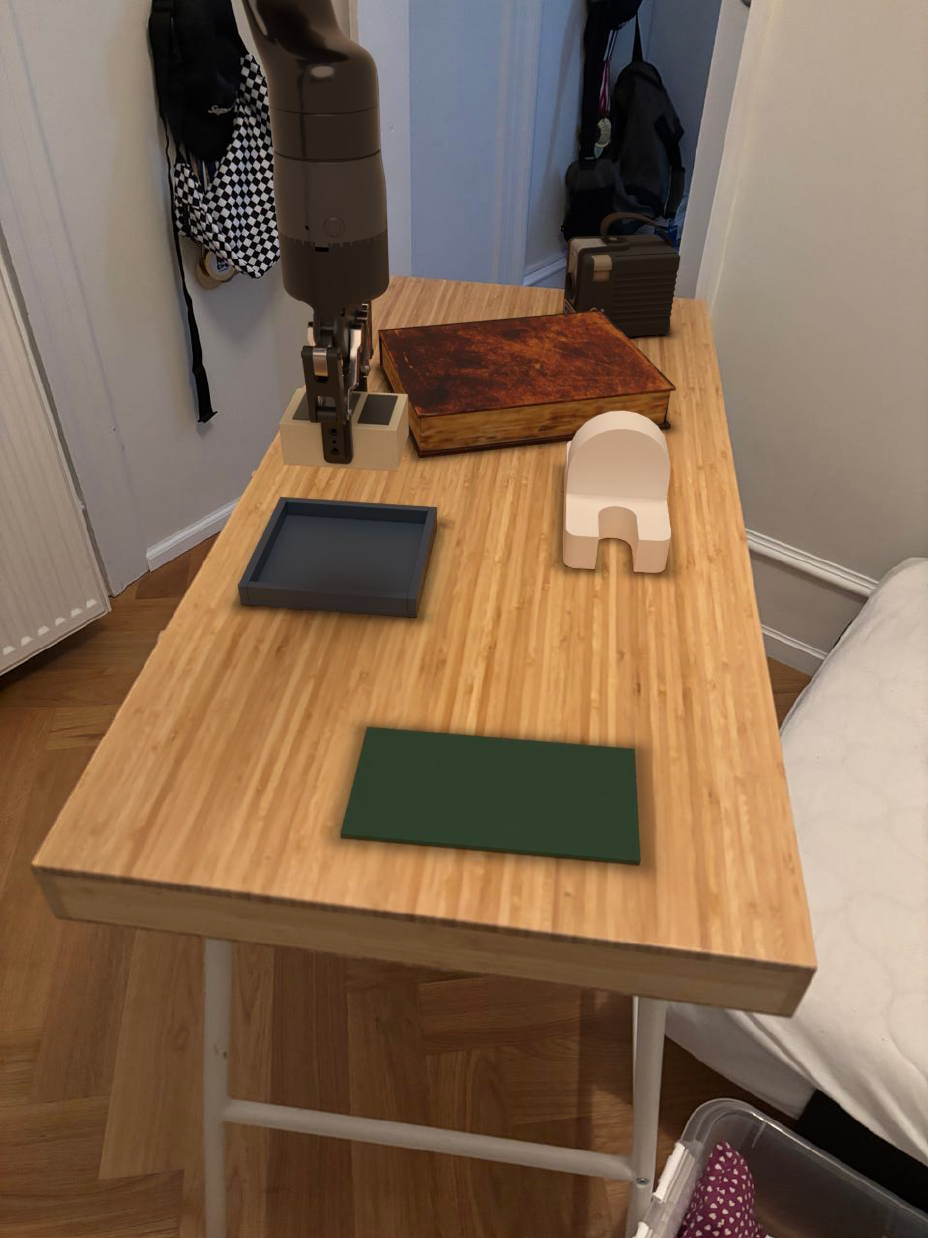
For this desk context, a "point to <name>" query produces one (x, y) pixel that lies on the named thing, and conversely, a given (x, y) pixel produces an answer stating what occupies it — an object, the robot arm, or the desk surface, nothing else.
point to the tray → (341, 557)
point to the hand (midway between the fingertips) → (347, 439)
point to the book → (517, 380)
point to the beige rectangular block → (373, 432)
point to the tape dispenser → (617, 490)
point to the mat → (495, 795)
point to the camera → (623, 278)
